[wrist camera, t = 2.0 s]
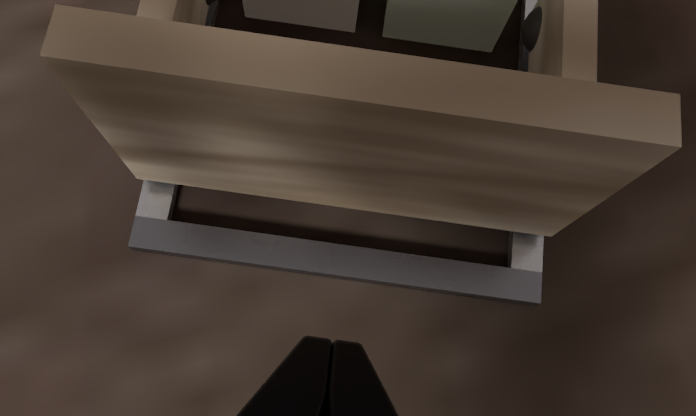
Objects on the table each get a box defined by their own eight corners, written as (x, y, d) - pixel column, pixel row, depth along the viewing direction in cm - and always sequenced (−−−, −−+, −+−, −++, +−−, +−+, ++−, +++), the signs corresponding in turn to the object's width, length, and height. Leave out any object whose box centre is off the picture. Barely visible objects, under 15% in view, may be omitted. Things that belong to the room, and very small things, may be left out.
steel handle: (535, 305, 20) (541, 303, 20) (132, 249, 20) (128, 246, 20) (552, -96, 25) (557, -106, 25) (225, -145, 25) (224, -155, 24)
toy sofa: (559, 241, 20) (701, 150, 13) (127, 181, 20) (19, 52, 13) (566, 24, 22) (689, -158, 15) (180, -31, 22) (115, -244, 15)
